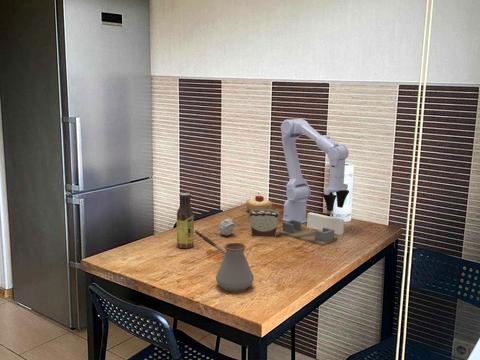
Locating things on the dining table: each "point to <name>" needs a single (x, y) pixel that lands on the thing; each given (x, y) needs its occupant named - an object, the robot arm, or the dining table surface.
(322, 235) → the end caps
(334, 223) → the slat
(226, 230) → the crumpled paper ball
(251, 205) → the pastry
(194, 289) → the dining table surface
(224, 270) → the coffee pot
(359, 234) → the dining table surface
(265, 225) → the food container
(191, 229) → the sauce bottle
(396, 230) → the dining table surface
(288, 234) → the base board
